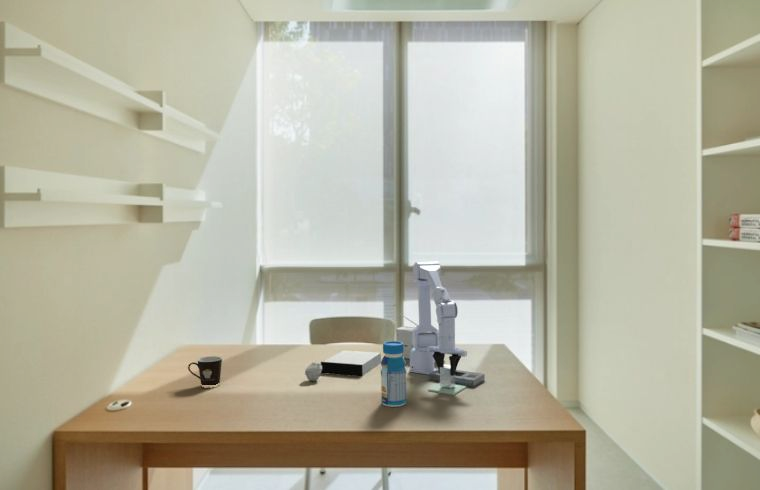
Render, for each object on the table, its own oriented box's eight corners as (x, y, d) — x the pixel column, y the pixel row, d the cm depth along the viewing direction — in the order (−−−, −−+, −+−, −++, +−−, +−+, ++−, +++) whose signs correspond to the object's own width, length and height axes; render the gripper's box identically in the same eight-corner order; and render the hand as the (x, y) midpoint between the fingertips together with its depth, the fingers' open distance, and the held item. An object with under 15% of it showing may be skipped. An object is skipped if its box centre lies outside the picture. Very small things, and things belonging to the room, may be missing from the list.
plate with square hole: (429, 380, 210) (429, 373, 210) (441, 373, 218) (441, 367, 218) (473, 387, 200) (473, 380, 200) (484, 380, 208) (484, 373, 208)
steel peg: (440, 386, 198) (439, 367, 197) (445, 383, 201) (444, 364, 201) (450, 388, 196) (450, 368, 195) (455, 385, 199) (454, 365, 198)
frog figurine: (325, 380, 211) (325, 362, 211) (311, 384, 206) (311, 365, 206) (315, 377, 216) (315, 359, 215) (301, 381, 210) (300, 362, 210)
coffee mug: (227, 384, 208) (227, 357, 208) (211, 390, 200) (210, 362, 200) (203, 380, 213) (202, 354, 212) (186, 386, 205) (186, 359, 205)
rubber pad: (428, 390, 197) (428, 389, 197) (441, 383, 205) (441, 382, 205) (453, 395, 191) (453, 393, 191) (466, 387, 199) (466, 386, 199)
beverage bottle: (398, 409, 177) (397, 346, 177) (376, 405, 182) (375, 344, 181) (411, 402, 184) (410, 341, 184) (389, 398, 189) (388, 339, 188)
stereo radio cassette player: (445, 360, 241) (445, 313, 240) (437, 364, 234) (436, 316, 233) (403, 354, 252) (403, 310, 251) (394, 358, 245) (393, 312, 244)
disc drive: (320, 374, 222) (320, 361, 221) (343, 360, 243) (343, 349, 243) (361, 378, 216) (361, 365, 215) (381, 363, 237) (381, 352, 237)
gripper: (423, 336, 198) (423, 374, 198) (460, 340, 190) (461, 379, 190) (432, 332, 204) (432, 369, 204) (469, 336, 196) (469, 375, 196)
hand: (447, 374), depth 198 cm, fingers closed on steel peg, 4 cm apart
